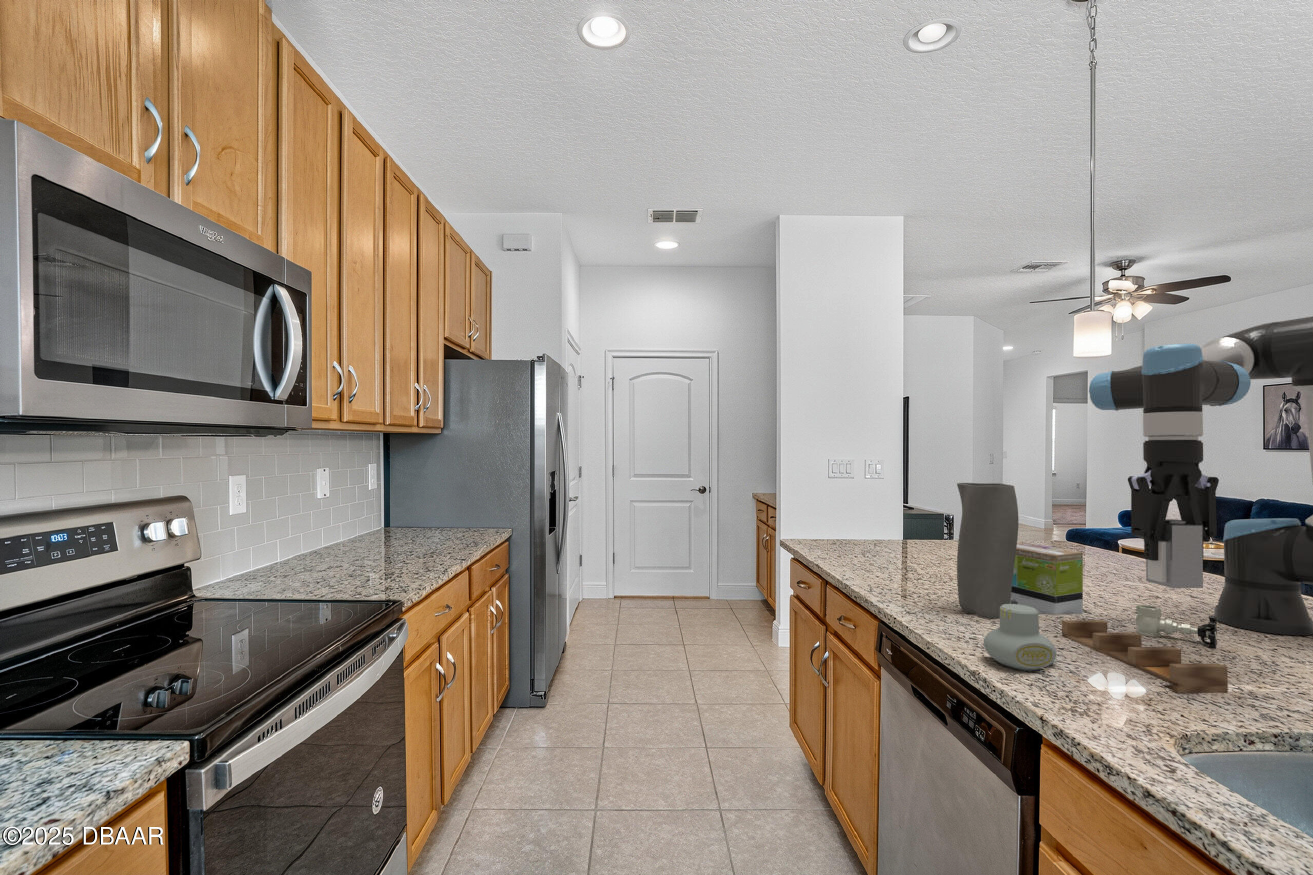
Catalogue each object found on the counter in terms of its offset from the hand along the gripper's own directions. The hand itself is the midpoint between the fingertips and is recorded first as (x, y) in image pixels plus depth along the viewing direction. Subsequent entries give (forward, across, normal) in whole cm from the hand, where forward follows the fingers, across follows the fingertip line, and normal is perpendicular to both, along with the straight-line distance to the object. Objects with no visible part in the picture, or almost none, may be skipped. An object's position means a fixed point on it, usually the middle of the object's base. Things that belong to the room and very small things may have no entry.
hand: (1174, 580), depth 99 cm
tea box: (+17, -7, -44) cm, 48 cm away
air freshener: (+17, +21, -8) cm, 28 cm away
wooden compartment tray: (+16, 0, -8) cm, 18 cm away
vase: (+17, +9, -38) cm, 42 cm away
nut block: (+1, 0, 0) cm, 1 cm away
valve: (+17, -17, -18) cm, 30 cm away
